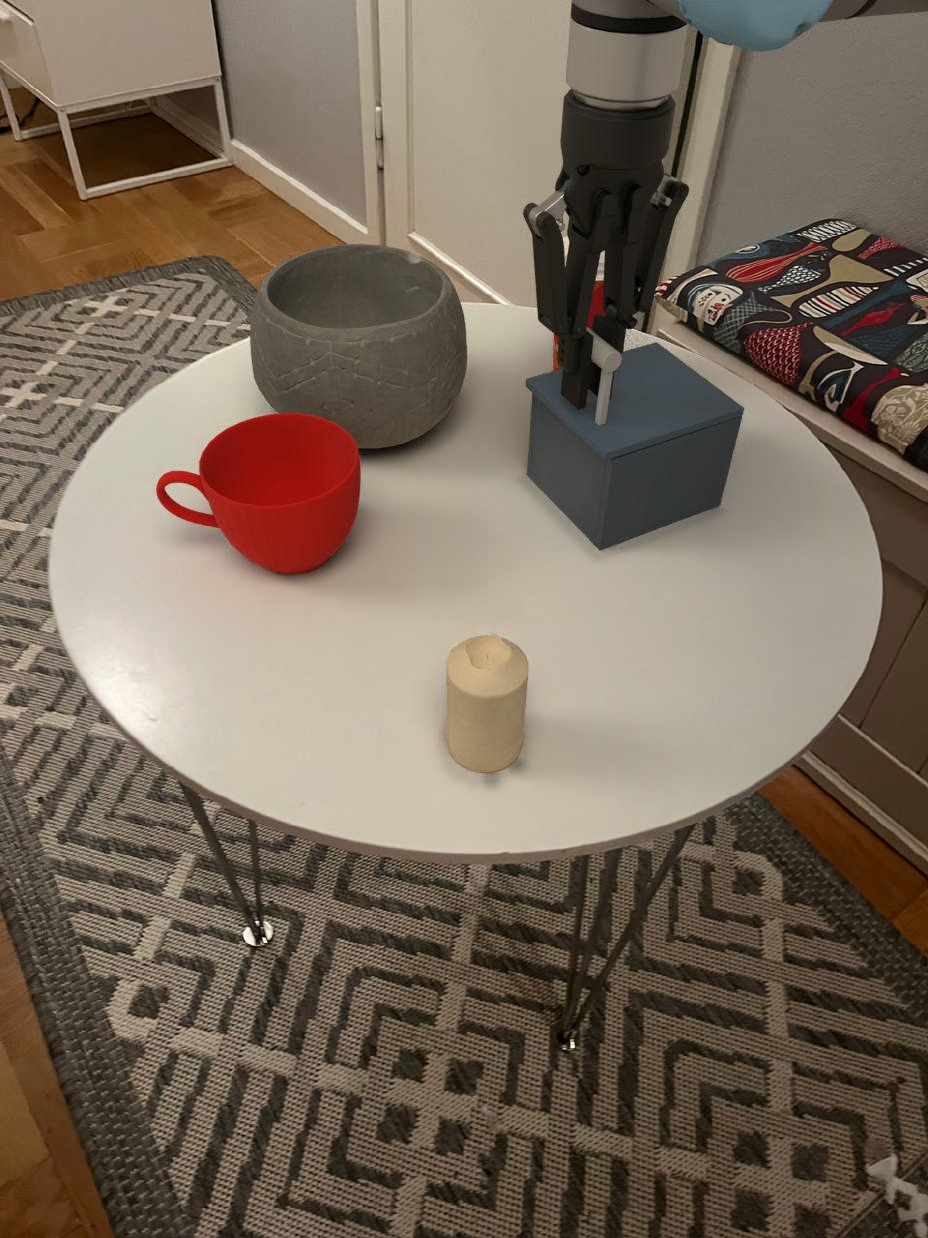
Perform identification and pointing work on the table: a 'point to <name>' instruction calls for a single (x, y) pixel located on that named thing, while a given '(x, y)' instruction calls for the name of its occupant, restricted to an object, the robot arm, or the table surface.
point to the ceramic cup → (277, 489)
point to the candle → (486, 702)
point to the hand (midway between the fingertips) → (585, 396)
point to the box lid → (637, 400)
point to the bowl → (360, 341)
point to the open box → (628, 477)
